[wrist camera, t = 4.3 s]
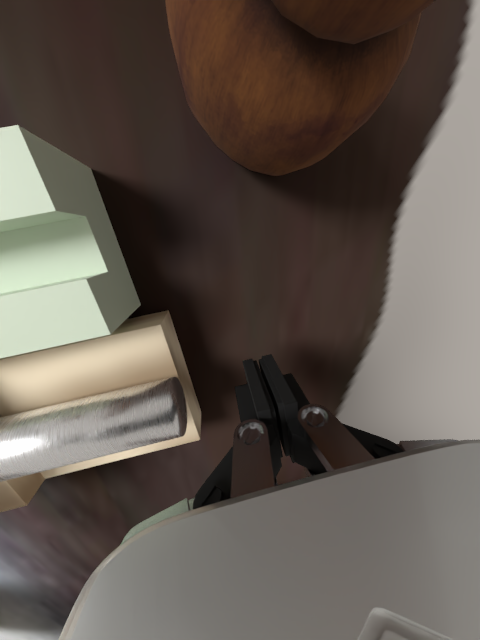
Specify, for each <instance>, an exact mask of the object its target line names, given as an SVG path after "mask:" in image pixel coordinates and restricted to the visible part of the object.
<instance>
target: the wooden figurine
mask: <svg viewBox="0 0 480 640" xmlns="http://www.w3.org/2000/svg"><path fill="white" fill-rule="evenodd" d="M434 1H435V0H165V2H166V10H167V18H168V26H169V32H170V36H171V40H172V44H173V49H174V53H175V57H176V61H177V65H178V69H179V73H180V77H181V81H182V85H183V89H184V92H185V96H186V100H187V103H188V105H189V107H190V109H191V111H192V113H193V115H194V117H195V118H196V119H197V121H198V122H199V123H200V125H201V126H202V127H203V128H204V130H205V131H206V132H207V134H208V135H209V136H210V138H211V139H212V141H213V142H214V144H215V145H216V146H217V147H218V148H219V149H221V150H222V151H223V152H224V153H225V154H226V155H227V156H228V157H230V158H231V159H232V160H233V161H235V162H237V163H239V164H240V165H242V166H244V167H246V168H247V169H249V170H251V171H255V172H259V173H263V174H268V175H272V176H280V175H285V174H288V173H291V172H294V171H297V170H300V169H303V168H306V167H309V166H311V165H313V164H315V163H317V162H318V161H320V160H322V159H324V158H325V157H326V156H327V155H328V154H330V153H331V152H332V151H333V150H334V149H335V148H337V147H338V146H339V145H340V144H341V143H342V142H344V141H345V140H346V139H347V138H348V137H349V136H351V135H352V134H353V133H354V132H355V131H356V130H358V129H359V128H360V127H361V126H362V125H363V124H365V123H366V122H367V121H368V120H369V119H370V117H371V116H372V115H373V114H374V112H375V111H376V110H377V109H378V107H379V106H380V105H381V104H382V102H383V101H384V100H385V99H386V97H387V95H388V93H389V92H390V90H391V88H392V86H393V84H394V83H395V81H396V79H397V77H398V76H399V74H400V72H401V70H402V68H403V67H404V65H405V63H406V61H407V60H408V58H409V56H410V53H411V49H412V46H413V42H414V38H415V35H416V31H417V27H418V24H419V20H420V17H421V13H422V11H423V10H424V9H425V8H427V7H428V6H429V5H430V4H432V3H433V2H434Z"/></svg>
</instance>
